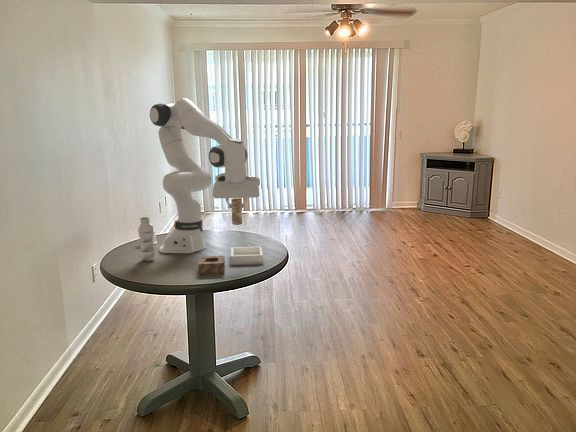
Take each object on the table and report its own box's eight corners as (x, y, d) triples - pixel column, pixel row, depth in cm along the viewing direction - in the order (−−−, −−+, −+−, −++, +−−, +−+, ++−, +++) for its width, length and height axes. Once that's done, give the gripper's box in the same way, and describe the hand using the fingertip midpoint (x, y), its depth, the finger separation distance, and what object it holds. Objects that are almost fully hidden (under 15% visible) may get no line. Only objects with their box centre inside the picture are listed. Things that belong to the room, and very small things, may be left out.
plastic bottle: (141, 258, 220) (138, 216, 216) (156, 258, 221) (153, 216, 216) (138, 263, 214) (135, 220, 210) (154, 262, 215) (150, 219, 210)
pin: (232, 225, 208) (231, 200, 206) (232, 222, 212) (231, 198, 210) (242, 224, 208) (241, 200, 206) (242, 222, 213) (241, 198, 210)
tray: (231, 264, 211) (231, 256, 210) (231, 255, 224) (231, 247, 223) (262, 263, 212) (262, 255, 211) (261, 254, 226) (261, 246, 225)
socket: (199, 275, 197) (198, 264, 196) (200, 267, 208) (200, 256, 206) (224, 274, 198) (223, 263, 197) (224, 266, 209) (224, 255, 207)
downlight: (160, 243, 245) (158, 224, 243) (147, 246, 241) (145, 226, 239) (153, 241, 251) (151, 222, 249) (140, 243, 247) (138, 224, 245)
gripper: (259, 175, 210) (260, 205, 213) (212, 175, 208) (214, 206, 211) (260, 177, 204) (260, 208, 207) (211, 178, 202) (213, 209, 205)
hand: (236, 207), depth 209 cm, fingers closed on pin, 4 cm apart
